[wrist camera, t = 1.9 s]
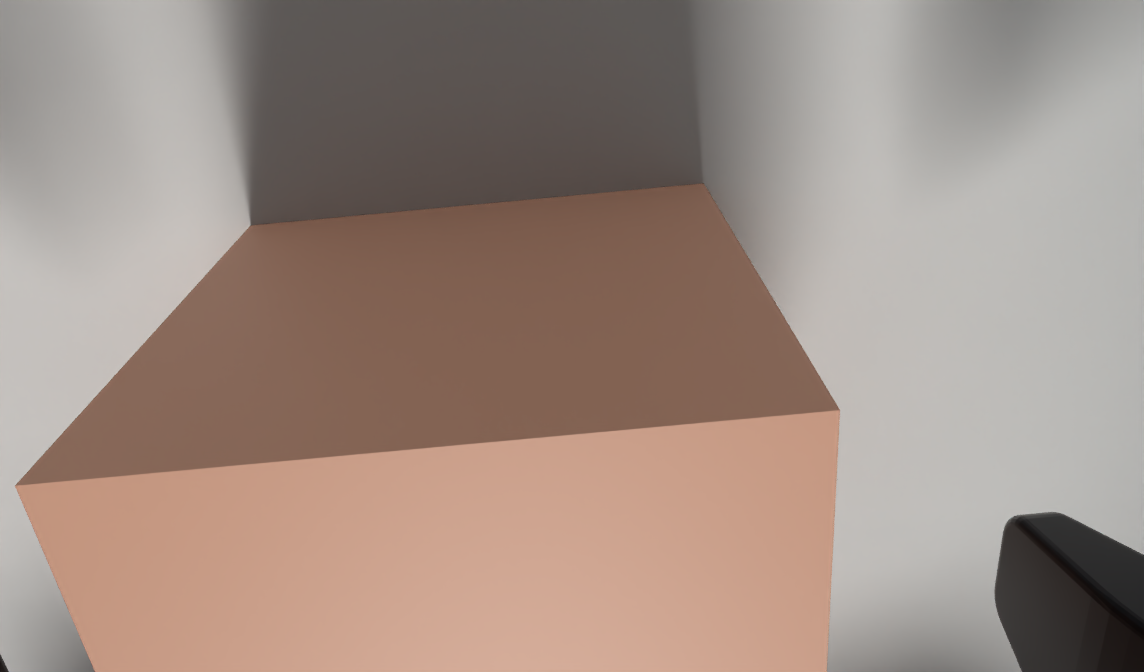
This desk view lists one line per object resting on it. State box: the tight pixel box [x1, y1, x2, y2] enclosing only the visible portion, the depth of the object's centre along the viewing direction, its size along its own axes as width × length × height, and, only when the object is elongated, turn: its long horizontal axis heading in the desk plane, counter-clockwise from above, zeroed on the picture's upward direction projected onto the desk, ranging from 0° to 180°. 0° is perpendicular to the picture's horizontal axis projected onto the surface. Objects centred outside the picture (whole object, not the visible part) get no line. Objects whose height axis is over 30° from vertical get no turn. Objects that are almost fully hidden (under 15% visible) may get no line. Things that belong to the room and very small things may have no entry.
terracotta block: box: [15, 183, 840, 672], centre depth 9 cm, size 5×5×5 cm
